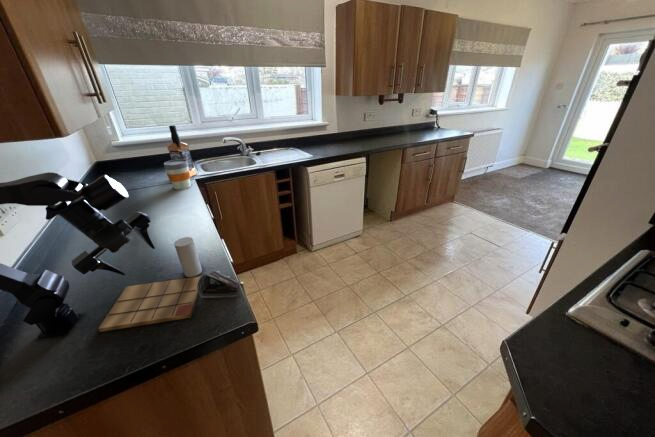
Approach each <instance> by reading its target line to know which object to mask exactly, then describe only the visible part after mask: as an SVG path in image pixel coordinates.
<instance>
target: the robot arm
mask: <svg viewBox="0 0 655 437" xmlns="http://www.w3.org/2000/svg"><path fill="white" fill-rule="evenodd" d="M129 197H130V195H129V193H128V191H127V189H126V188H125V187H124V186H123V185H122V183H120V182H118V181H117V180H115V179H113V178H112V177H109V176H108V175H107V174H103V175H100V176H99V177H98V178H97V179H95V180H94V181H92V182H90V183H86V182H81V181H77V180H73V179H68V178H66V177H65V176H63V175H61V174H59V173H57V172H52V171H51V172H49V171H48V172H42V173H38V174H34V175H29V176H25V177H22V178H19V179H15V180H11V181H5V182H3V181H2V182H0V205H13V204H15V205H21V206H27V207H43V206H44V207H45V212H46V214H45V220H46V221H50V220H52V219H54V218H56V217H57V216H59V217H61V218H62V219H63V220H64V221H65V222H67V223H69V225H71V226H72V227H74V228H75V229H76V230H78V231H79V232H80V233H82V234H83V235H84V236H85V237H87V238H88V239H90V240H91V241H92V242H93V243H94V244H96V245H97V247H95V248H94V249H92V251H90V252H88V251H87V250H84V251H83V252H81V253H80V254H79V255H77V256H76V257H74V259H72V260H71V266H72V267H73V268H74V269H75V270H76V271H78V272H79V273H80V274H82V275H87V273H89V272H91V273H93V272H96V270H97V271H98V270H102V271H108V272H111V273H115V274H118V275H120V276H121V275H122V276H125V275H126V273H125V272H124V271H122V270H121V269H120V268H117V267H116V266H114V265H112V264H110V263H108V262H107V261H105V260H103V259H101V258H99V257H100V256H101V255H103V254H104V253H105V252H106V251H109V252H110V253H117V252H118V251H120V249H121V248H122V247H124V246H125V245H126V244H128V243H129V242H130V241H131V237H130V236H129V235H130V234H131V233H132V231H134V232H135V233H136V234H137V235H138V236H139V237H140V238H141V239H142V240H143V242H144V243H146V245H147V246H149V247H150V248H151V249H152V250H155V249H156V248H155V245H154V243H153V242H152V240H151V237H150V235H149V231H148V228H149V227H150V226H151V225H150V224H151V222H152V220H153V219H152V218H151V217H150V216H149V215H148V214H147V213H145V212H141V211H135V212H134V213H132V214H131V215H130V216H129V217H127V218H126V219H125V220H124V219H122V218H120V219H119V220H117V221H116V222H115V223H113V222H112V221H111V220H110V219H109V218H108V217H106V216H105V215H104V214H103V213H102V212H100V211H108V210H109V209H112V208H113V207H114V206H117V205H118V204H120V203H122V202H123V201H125V200H126V199H128V198H129ZM64 276H65V275H60V274H57V273H54V272H53V271H51V270H48V269H44V270H43V272H42V273H28V272H25V271H22V270H20V269H17V268H14V267H12V266H10V265H6V264H4V263H1V262H0V291H2V292H5V293H7V294H11V295H12V296H13V297H14V298H15V299H16V301H17V302H19V304H21V305H22V306H24V307H26V308H29V309H28V311H27V312H26V314H25V316H24V318H23V319H22V322H24V323H26V324H28V325H30V326H33V325H36V327H37V328H38V329H39V331H40V333H39V335H38V336H36V337H37V339H38V340H42V339H49V338H54V337H59V336H61V337H62V336H66V335H68V334H69V333H70V331H71V330H72V329H73V327H74V326H75V325H76V324H77V323H78V321H79V320H80V318H81V317H82V314H80V313H78V314H77V313H76V312H75V311H74V309H73V308H72V307H70V306H69V304H68V303H66V302H65V303H64V301H65V299H66V297H67V294H68V293H69V290H70V282H69V280H68V279H66V278H65V277H64Z"/></svg>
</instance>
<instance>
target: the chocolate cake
mask: <svg viewBox="0 0 655 437" xmlns="http://www.w3.org/2000/svg"><path fill="white" fill-rule="evenodd" d="M199 275H200V276H201V277H200V276H199V277H200V279H199V281H198V285H197V289H198V297H200V298H202V299H208V298H209V299H215V298H216V299H217V298H236V297H238V296H239V293H240V290H239V286H240V284H239V282H238V281H237V280H234V279H232V278H231V276H230V275H224V274H222V273H221V271H220V270H216V269H215V270H214V269H213V270H211V271H210V272H209V273H208V274H205V273H202V272H201V273H200V274H199Z"/></svg>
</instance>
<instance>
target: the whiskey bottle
mask: <svg viewBox="0 0 655 437" xmlns="http://www.w3.org/2000/svg"><path fill="white" fill-rule="evenodd" d="M168 129H169V132H170V138H171V141H172V143H170V144H169V145H168V146H166V148H167V151H168V153H169V156H170V161H171V160H177V159H185V160H187V162H188V165H189V166H188V169H189V171H190V178H193V176H196V175H197V174H198V173H197V169H196V168H195V165H194V162H193V158H192V155H191V152H190V146H189V144H188V143H185V142H183V141H181V137H180V134H179V133H178V130H177V126H176V125H175V124H174V125H168Z"/></svg>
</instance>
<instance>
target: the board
mask: <svg viewBox="0 0 655 437" xmlns="http://www.w3.org/2000/svg"><path fill="white" fill-rule="evenodd" d="M200 277H201V276H194V277H185V278H179V279H172V280H166V281H165V280H164V281H157V282H149V283H142V284H134V285H128V286H125V288H124V289H123V291H122V292H121V293H120V295H119V297H118V298H117V300H116V301H115V302H114V304H113V306H112V307H111V309H110V310H109V312H107V315H106V316H105V318H103V320H102V322H101V324H99V326H98V328H97V330H98V332H99V333H102V332H109V331H116V330H121V329H127V328H134V327H140V326H146V325H152V324H159V323H164V322H165V323H166V322H170V321H178V320H184V319H191V318H192V315H193V312H194V308H195V305H196V303H197V300H198V297H199V294H198V289H197V285H198V281H199V279H200Z"/></svg>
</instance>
